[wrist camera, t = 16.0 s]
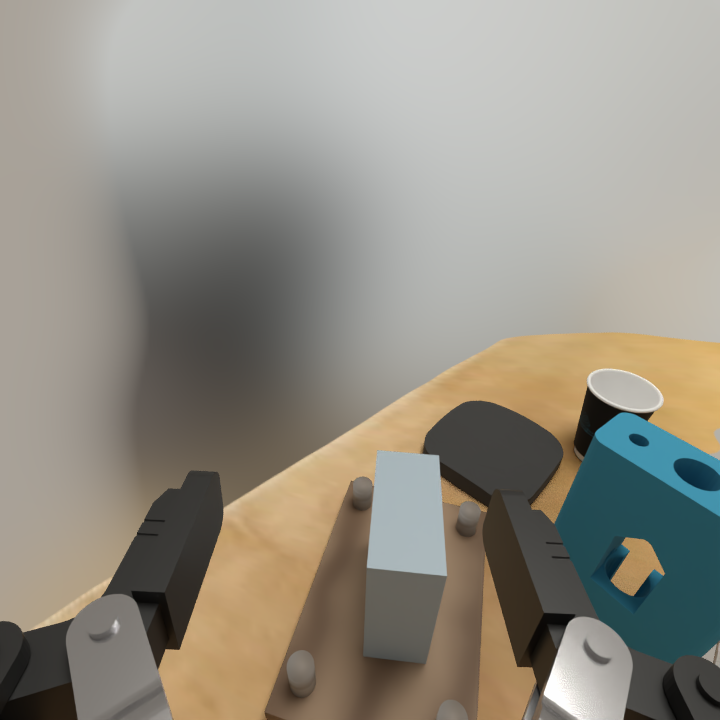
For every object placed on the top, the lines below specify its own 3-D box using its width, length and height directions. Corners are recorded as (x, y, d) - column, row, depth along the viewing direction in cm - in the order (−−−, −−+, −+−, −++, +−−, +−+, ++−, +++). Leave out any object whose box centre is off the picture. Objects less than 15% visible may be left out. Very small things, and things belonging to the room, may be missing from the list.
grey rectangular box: (363, 656, 34) (366, 567, 27) (372, 542, 43) (377, 450, 35) (425, 664, 34) (446, 576, 27) (423, 547, 42) (439, 455, 35)
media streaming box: (514, 528, 47) (520, 511, 46) (410, 457, 56) (412, 441, 54) (568, 457, 56) (575, 440, 54) (471, 405, 64) (474, 389, 63)
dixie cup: (548, 448, 57) (573, 382, 51) (582, 424, 61) (609, 360, 54) (606, 489, 52) (642, 420, 45) (639, 460, 55) (676, 393, 49)
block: (524, 583, 42) (589, 436, 31) (554, 555, 44) (624, 409, 33) (652, 706, 34) (803, 568, 23) (679, 663, 37) (829, 520, 25)
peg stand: (268, 723, 33) (259, 696, 30) (351, 494, 50) (351, 462, 47) (467, 799, 30) (481, 777, 27) (482, 526, 47) (492, 494, 44)
